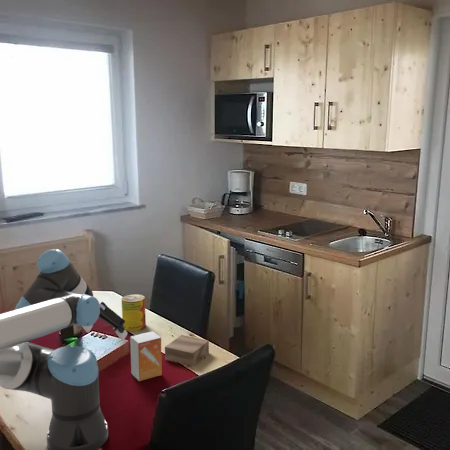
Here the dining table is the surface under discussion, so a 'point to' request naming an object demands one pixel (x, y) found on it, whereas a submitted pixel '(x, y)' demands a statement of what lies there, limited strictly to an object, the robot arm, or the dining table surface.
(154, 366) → the small box
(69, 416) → the robot arm
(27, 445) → the dining table surface
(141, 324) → the yellow food can
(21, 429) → the dining table surface
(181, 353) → the walnut block
